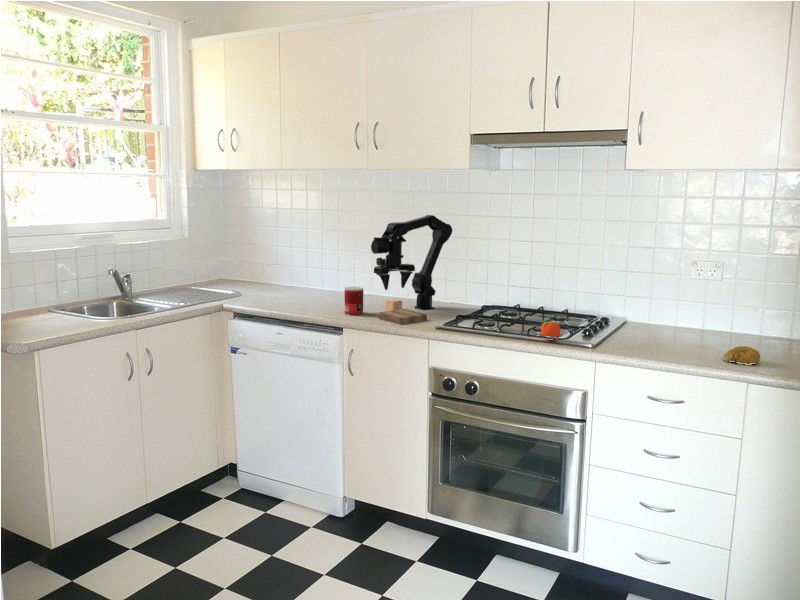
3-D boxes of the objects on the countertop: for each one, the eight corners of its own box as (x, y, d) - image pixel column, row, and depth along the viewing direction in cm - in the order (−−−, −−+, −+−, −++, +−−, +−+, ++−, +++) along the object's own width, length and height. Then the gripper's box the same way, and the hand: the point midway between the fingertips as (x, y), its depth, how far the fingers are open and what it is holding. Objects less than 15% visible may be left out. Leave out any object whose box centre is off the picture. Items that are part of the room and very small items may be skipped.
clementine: (543, 343, 236) (544, 323, 235) (534, 338, 243) (535, 319, 241) (563, 342, 238) (565, 322, 237) (554, 337, 245) (555, 318, 244)
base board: (404, 314, 282) (404, 308, 282) (426, 320, 272) (426, 314, 271) (378, 318, 273) (378, 312, 273) (400, 324, 263) (400, 318, 262)
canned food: (360, 315, 278) (360, 289, 276) (342, 314, 280) (342, 288, 278) (365, 312, 286) (365, 287, 284) (347, 311, 287) (347, 286, 285)
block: (394, 310, 292) (394, 298, 292) (402, 312, 289) (402, 300, 288) (385, 311, 289) (385, 300, 288) (393, 313, 286) (393, 301, 285)
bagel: (717, 357, 221) (718, 343, 220) (752, 359, 220) (753, 345, 220) (729, 365, 212) (730, 351, 211) (765, 367, 211) (767, 352, 210)
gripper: (399, 249, 297) (398, 284, 299) (365, 252, 285) (365, 288, 287) (416, 251, 288) (415, 287, 291) (382, 254, 276) (382, 291, 279)
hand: (394, 288), depth 287 cm, fingers open, 9 cm apart
